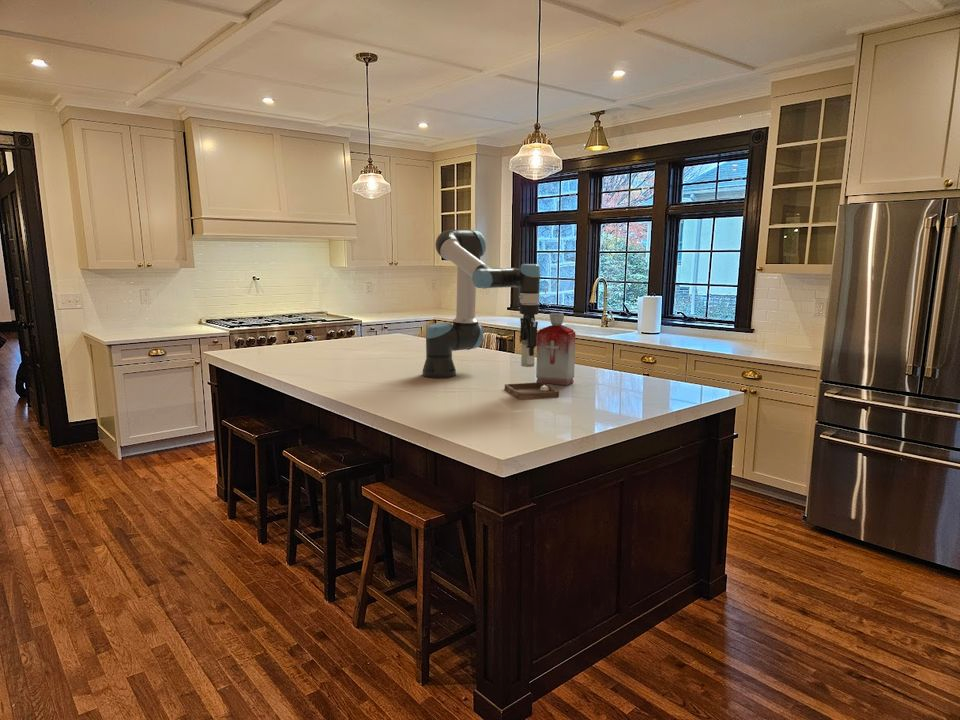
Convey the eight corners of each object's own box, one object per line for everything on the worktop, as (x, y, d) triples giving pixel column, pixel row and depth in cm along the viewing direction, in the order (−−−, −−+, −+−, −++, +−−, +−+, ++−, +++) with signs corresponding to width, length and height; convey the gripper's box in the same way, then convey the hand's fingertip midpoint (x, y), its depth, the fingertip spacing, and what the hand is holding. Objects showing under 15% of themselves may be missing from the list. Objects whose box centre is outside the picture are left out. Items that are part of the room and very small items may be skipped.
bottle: (534, 383, 266) (536, 313, 260) (543, 379, 275) (545, 311, 269) (566, 387, 259) (569, 315, 254) (575, 383, 268) (577, 313, 263)
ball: (538, 393, 246) (538, 384, 245) (546, 393, 246) (546, 384, 246) (541, 395, 242) (541, 386, 241) (550, 395, 243) (550, 386, 242)
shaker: (518, 364, 250) (519, 338, 248) (531, 364, 252) (532, 337, 250) (523, 367, 245) (524, 340, 243) (536, 366, 247) (537, 339, 245)
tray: (504, 390, 253) (504, 384, 253) (541, 388, 258) (541, 382, 257) (519, 400, 236) (519, 394, 236) (558, 398, 241) (558, 391, 240)
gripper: (512, 301, 252) (511, 358, 256) (528, 306, 234) (526, 367, 239) (530, 301, 254) (528, 357, 258) (546, 306, 236) (544, 366, 241)
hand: (527, 362), depth 248 cm, fingers closed on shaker, 5 cm apart
